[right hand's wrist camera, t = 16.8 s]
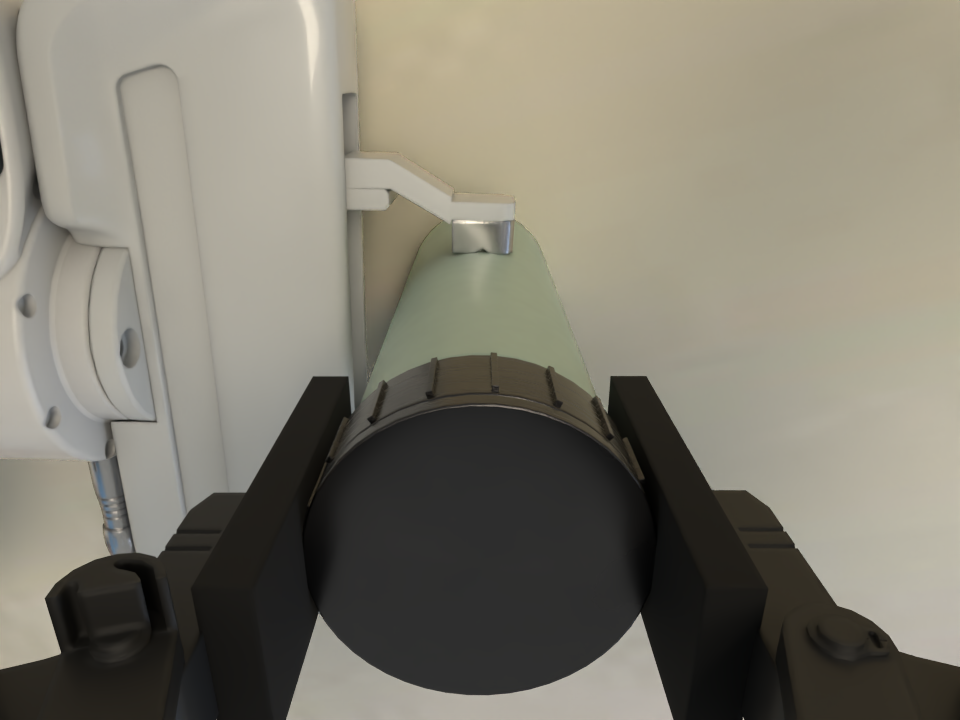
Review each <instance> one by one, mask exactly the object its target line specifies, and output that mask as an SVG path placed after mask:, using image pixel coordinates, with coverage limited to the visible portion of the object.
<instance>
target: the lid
mask: <svg viewBox="0 0 960 720" xmlns="http://www.w3.org/2000/svg"><path fill="white" fill-rule="evenodd" d="M325 461H326V462H327V463H326V462H325V464H324V466H323V469H322V471H321V473H320V476H319V478H318V481H317V483H316V486H315V488H314V490H313V493H312V495H311V498H310V500H309V503H308V505H307V509H308V511H307V514H306V519H305V523H304V528H303V534H302V543H303V553H304V561H305V570H306V578H307V585H308V589H309V592H310V594H311V596H312V599H313V601H314V603H315V606H316V608H317V609H318V611H319V612H320V614H321V616H322V617H323V619H324V621H325V622H326V624H327V625H328V626H329V627H330V629H331V630H332V631H333V632H334V633H335V635H336V636H337V637H338V638H339V639H340V640H341V641H342V642H343V643H344V644H345V645H346V646H347V647H348V648H349V649H350V650H351V651H353V652H354V653H355V654H357V655H358V656H359V657H361V658H362V659H363V660H365V661H366V662H367V663H369V664H370V665H372V666H374V667H376V668H377V669H379V670H381V671H383V672H384V673H386V674H388V675H391V676H393V677H395V678H397V679H400V680H402V681H404V682H407V683H410V684H413V685H417V686H420V687H423V688H426V689H431V690H436V691H441V692H445V693H454V694H463V695H495V694H506V693H513V692H518V691H524V690H529V689H533V688H536V687H539V686H543V685H546V684H550V683H552V682H555V681H557V680H559V679H562V678H564V677H567V676H569V675H571V674H573V673H575V672H577V671H578V670H580V669H582V668H584V667H586V666H587V665H589V664H590V663H592V662H593V661H595V660H596V659H597V658H599V657H600V656H602V655H603V654H604V653H605V652H607V651H608V650H609V649H610V648H611V647H612V646H613V645H614V644H616V643H617V642H618V641H619V640H620V638H621V637H622V636H623V635H624V634H625V633H626V632H627V630H628V629H629V628H630V627H631V626H632V624H633V623H634V621H635V620H636V618H637V617H638V615H639V614H640V612H641V610H642V608H643V606H644V604H645V602H646V600H647V598H648V596H649V594H650V590H651V586H652V579H653V571H654V563H655V554H656V545H657V530H656V525H655V519H654V515H653V513H652V510H651V507H650V504H649V501H648V499H647V496H646V494H645V491H644V489H643V487H642V485H644V484H646V483H647V482H646V480H645V478H644V475H643V473H642V471H641V468H640V466H639V464H638V461H637V459H636V456H635V454H634V452H633V449H632V447H631V445H630V442H629V440H628V438H627V437H626V438H622V436H621V434H620V432H619V431H618V429H617V427H616V425H615V423H614V422H613V420H612V419H611V418H610V416H609V415H608V414H607V412H606V411H605V410H604V408H603V405H602V403H601V400H600V398H598V397H597V396H595V397H594V398H593V397H592V396H591V395H590V394H588V393H587V392H586V391H585V390H583V389H582V388H581V387H579V386H578V385H577V384H575V383H574V382H572V381H571V380H569V379H567V378H565V377H564V376H562V375H560V374H558V373H556V372H555V370H554V367H551V366H548V367H547V368H545V367H542V366H540V365H537V364H534V363H530V362H527V361H523V360H519V359H515V358H508V357H501V356H497V353H493V352H491V354H490V355H468V356H459V357H450V358H445V359H441V360H438V358H437V357H435V358H431V362H428V363H426V364H423V365H420V366H418V367H415V368H412V369H410V370H407V371H406V372H404V373H402V374H400V375H398V376H396V377H394V378H392V379H390V380H389V381H387V382H385V381H384V380H382V381H381V382H379V384H378V387H377V389H376V390H375V391H373V392H372V393H371V394H370V395H369V396H368V397H367V398H366V399H365V400H364V401H363V402H362V403H361V404H360V405H359V406H358V407H357V408H356V410H355V411H354V412H353V413H352V414H351V416H350V417H349V418H346V417H344V418H343V419H342V421H341V423H340V426H339V428H338V431H337V433H336V435H335V438H334V440H333V443H332V445H331V447H330V450H329V452H328V455H327V457H326V460H325Z"/></svg>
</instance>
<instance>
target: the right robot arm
mask: <svg viewBox="0 0 960 720" xmlns="http://www.w3.org/2000/svg"><path fill="white" fill-rule="evenodd" d="M351 414H352V413H351V401H350V388H349V376H313V377H312V379H311V381H310V382H309V384H308V386H307V388H306V389H305V391H304V393H303V394H302V396H301V398H300V400H299V401H298V403H297V405H296V407H295V408H294V410H293V412H292V414H291V415H290V417H289V419H288V421H287V422H286V424H285V426H284V427H283V429H282V431H281V433H280V434H279V436H278V438H277V440H276V441H275V443H274V445H273V447H272V448H271V450H270V452H269V454H268V455H267V457H266V459H265V460H264V462H263V464H262V466H261V467H260V469H259V471H258V473H257V474H256V476H255V478H254V480H253V481H252V483H251V485H250V487H249V488H248V490H247V492H224V493H213V494H211V495H210V496H208V497H207V498H206V499H204V500H203V501H202V502H200V503H199V504H197V505H196V506H195V507H193V508H192V509H191V510H190V511H189V512H188V514H187V515H186V517H185V518H184V520H183V521H182V522H181V524H180V525H179V527H178V528H177V532H176V534H173V536H172V537H171V539H170V540H169V541H168V543H167V544H166V546H165V551H162V552H161V553H160V555H159V556H158V558H156V557H155V556H151V555H147V554H143V553H122V554H115V555H111V556H107V557H104V558H100V559H96V560H94V561H92V562H89V563H87V564H85V565H83V566H81V567H79V568H77V569H75V570H73V571H72V572H70V573H69V574H68V575H66V576H65V577H64V578H62V579H61V580H60V581H58V582H57V583H56V584H55V585H54V587H53V588H52V589H51V591H50V592H49V593H48V595H47V596H46V598H45V601H46V604H47V607H48V610H49V614H50V617H51V620H52V624H53V627H54V630H55V633H56V637H57V640H58V643H59V647H60V650H61V654H60V655H57V656H53V657H50V658H47V659H44V660H40V661H35V662H31V663H27V664H23V665H18V666H14V667H10V668H6V669H1V670H0V720H216V719H217V720H286V717H287V714H288V711H289V708H290V704H291V701H292V698H293V694H294V691H295V688H296V685H297V681H298V678H299V675H300V672H301V668H302V665H303V662H304V659H305V655H306V652H307V649H308V645H309V642H310V639H311V636H312V632H313V629H314V626H315V623H316V619H317V616H318V613H319V611H318V609H317V608H316V606H315V603H314V601H313V599H312V596H311V594H310V592H309V589H308V585H307V578H306V570H305V561H304V553H303V543H302V534H303V528H304V523H305V519H306V514H307V511H308V509H307V505H308V503H309V500H310V498H311V495H312V493H313V490H314V488H315V486H316V483H317V481H318V478H319V476H320V473H321V471H322V469H323V466H324V464H325V462H326V461H325V460H326V457H327V455H328V452H329V450H330V447H331V445H332V443H333V440H334V438H335V435H336V433H337V431H338V428H339V426H340V423H341V421H342V419H343V418H344V417H346V418H349V417H350V416H351ZM608 415H609V416H610V418H611V419H612V420H613V422H614V423H615V425H616V427H617V429H618V431H619V432H620V434H621V436H622V438H626V437H627V438H628V440H629V442H630V445H631V447H632V449H633V452H634V454H635V456H636V459H637V461H638V464H639V466H640V468H641V471H642V473H643V475H644V478H645V480H646V482H647V483H646V484H644V485H642V487H643V489H644V491H645V494H646V496H647V499H648V501H649V504H650V507H651V510H652V513H653V515H654V519H655V525H656V530H657V545H656V554H655V563H654V571H653V579H652V586H651V590H650V594H649V596H648V598H647V600H646V602H645V604H644V606H643V608H642V610H641V615H642V618H643V622H644V625H645V628H646V631H647V635H648V638H649V641H650V644H651V648H652V651H653V654H654V658H655V661H656V664H657V667H658V671H659V674H660V677H661V680H662V684H663V687H664V690H665V693H666V697H667V700H668V703H669V707H670V710H671V713H672V716H673V720H742V719H743V718H744V720H960V667H957V666H953V665H949V664H945V663H940V662H936V661H932V660H928V659H923V658H919V657H915V656H912V655H909V654H905V653H902V652H899V651H898V649H897V648H896V646H895V644H894V643H893V641H892V640H891V638H890V637H889V635H888V634H886V633H885V632H884V631H883V630H882V629H881V628H879V627H878V626H877V625H876V624H875V623H874V622H872V621H871V620H869V619H867V618H865V617H863V616H861V615H859V614H858V613H856V612H854V611H852V610H849V609H845V608H842V607H839V606H837V605H836V604H835V602H834V601H833V599H832V598H831V596H830V595H829V593H828V592H827V590H826V589H825V588H824V586H823V585H822V583H821V582H820V580H819V579H818V577H817V576H816V575H815V573H814V572H813V570H812V569H811V567H810V566H809V564H808V563H807V561H806V560H805V559H804V557H803V556H802V554H801V553H800V551H799V550H798V548H795V544H794V543H793V541H792V540H791V538H790V537H789V535H788V534H787V532H784V531H783V527H782V525H781V524H780V522H779V521H778V519H777V518H776V516H775V515H774V514H773V512H772V511H771V509H770V508H769V507H768V506H766V505H765V504H764V503H762V502H761V501H760V500H758V499H757V498H755V497H754V496H753V495H751V494H750V493H749V492H747V491H746V490H711V488H710V486H709V484H708V483H707V481H706V479H705V477H704V476H703V474H702V472H701V470H700V469H699V467H698V465H697V464H696V462H695V460H694V458H693V457H692V455H691V453H690V451H689V450H688V448H687V446H686V444H685V443H684V441H683V439H682V437H681V436H680V434H679V432H678V431H677V429H676V427H675V425H674V424H673V422H672V420H671V418H670V417H669V415H668V413H667V411H666V410H665V408H664V406H663V404H662V403H661V401H660V399H659V398H658V396H657V394H656V392H655V391H654V389H653V387H652V385H651V384H650V382H649V380H648V378H647V377H646V376H611V379H610V392H609V404H608ZM326 463H327V462H326Z"/></svg>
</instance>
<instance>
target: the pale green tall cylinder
mask: <svg viewBox="0 0 960 720" xmlns="http://www.w3.org/2000/svg"><path fill="white" fill-rule="evenodd" d="M491 352H493V353H497V356H501V357H508V358H515V359H519V360H523V361H527V362H530V363H534V364H537V365H540V366H542V367H545V368H547V367H548V366H551V367H554V370H555V372H556V373H558V374H560V375H562V376H564V377H565V378H567V379H569V380H571V381H572V382H574V383H575V384H577V385H578V386H579V387H581V388H582V389H583V390H585V391H586V392H587V393H588V394H590V395H591V396H592V397H593V398H594V397H595V396H596V393H595V391H594V388H593V386H592V383H591V380H590V378H589V375H588V372H587V370H586V367H585V364H584V362H583V359H582V356H581V354H580V351H579V349H578V346H577V343H576V341H575V338H574V335H573V333H572V330H571V327H570V325H569V322H568V319H567V317H566V314H565V311H564V309H563V306H562V304H561V301H560V298H559V296H558V293H557V290H556V288H555V285H554V282H553V280H552V277H551V274H550V272H549V269H548V267H547V264H546V261H545V259H544V256H543V253H542V251H541V249H540V247H539V245H538V243H537V241H536V240H535V238H534V237H533V236H532V235H531V233H530V232H529V231H528V230H527V229H526V228H525V227H524V226H522V225H521V224H520V223H518V222H517V221H515V224H514V237H513V251H512V253H510V254H504V255H497V254H490V253H488V252H487V251H485V250H484V249H482V250H480V251H479V252H477V253H469V254H462V253H452V221H451V225H450V224H448V223H446V222H445V221H443V222H441V223H440V224H438V225H437V226H436V227H435V228H434V229H433V230H432V231H431V232H430V233H429V234H428V235H427V237H426V238H425V239H424V241H423V242H422V244H421V246H420V248H419V250H418V252H417V255H416V258H415V260H414V263H413V266H412V268H411V271H410V274H409V276H408V279H407V282H406V284H405V287H404V289H403V292H402V295H401V297H400V300H399V303H398V305H397V308H396V311H395V313H394V316H393V319H392V321H391V324H390V326H389V329H388V332H387V334H386V337H385V340H384V342H383V345H382V348H381V350H380V353H379V356H378V358H377V361H376V363H375V366H374V369H373V371H372V374H371V377H370V379H369V382H368V385H367V387H366V390H365V393H364V395H363V398H362V400H361V403H362V402H363V401H364V400H365V399H366V398H367V397H368V396H369V395H370V394H371V393H372V392H373V391H375V390H376V389H377V387H378V384H379V382H381V381H382V380H384V381H385V382H387V381H389V380H390V379H392V378H394V377H396V376H398V375H400V374H402V373H404V372H406V371H407V370H410V369H412V368H415V367H418V366H420V365H423V364H426V363H428V362H431V358H435V357H437V358H438V360H441V359H445V358H450V357H459V356H468V355H490V354H491ZM361 403H360V404H361Z"/></svg>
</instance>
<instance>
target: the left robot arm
mask: <svg viewBox="0 0 960 720" xmlns="http://www.w3.org/2000/svg"><path fill="white" fill-rule="evenodd" d="M397 194H399V195H401V196H402V197H404V198H406V199H408V200H409V201H411V202H413V203H414V204H416V205H418V206H419V207H421V208H423V209H424V210H426V211H428V212H430V213H431V214H433V215H435V216H436V217H438V218H440V219H441V220H443V221H445V222H446V223H448V224H450V225H451V221H452V253H462V254H469V253H477V252H479V251H480V250H482V249H484V250H485V251H487V252H488V253H490V254H497V255H504V254H510V253H512V251H513V237H514V224H515V205H516V202H515V198H514V197H513V196H510V195H504V194H483V193H455V192H454V188H453V187H451V186H450V185H448V184H447V183H445V182H443V181H442V180H440V179H439V178H437V177H436V176H434V175H432V174H431V173H429V172H428V171H426V170H425V169H423V168H421V167H420V166H418V165H417V164H415V163H414V162H412V161H410V160H409V159H407V158H406V157H404V156H403V155H401V154H399V153H398V152H372V151H360V129H359V98H358V67H357V36H356V7H355V0H0V459H28V460H60V461H88V465H89V470H90V474H91V479H92V484H93V487H94V490H95V494H96V496H97V499H98V501H99V504H100V507H101V510H102V514H103V519H104V524H103V535H104V540H105V543H106V546H107V548H108V551H109V553H110V554H111V555H115V554H122V553H143V554H147V555H151V556H155V557H156V558H158V556H159V555H160V553H161V552H162V551H165V546H166V544H167V543H168V541H169V540H170V539H171V537H172V536H173V534H176V532H177V528H178V527H179V525H180V524H181V522H182V521H183V520H184V518H185V517H186V515H187V514H188V512H189V511H190V510H191V509H192V508H193V507H195V506H196V505H197V504H199V503H200V502H202V501H203V500H204V499H206V498H207V497H208V496H210V495H211V494H213V493H224V492H247V490H248V488H249V487H250V485H251V483H252V481H253V480H254V478H255V476H256V474H257V473H258V471H259V469H260V467H261V466H262V464H263V462H264V460H265V459H266V457H267V455H268V454H269V452H270V450H271V448H272V447H273V445H274V443H275V441H276V440H277V438H278V436H279V434H280V433H281V431H282V429H283V427H284V426H285V424H286V422H287V421H288V419H289V417H290V415H291V414H292V412H293V410H294V408H295V407H296V405H297V403H298V401H299V400H300V398H301V396H302V394H303V393H304V391H305V389H306V388H307V386H308V384H309V382H310V381H311V379H312V377H313V376H349V388H350V401H351V413H353V412H354V411H355V410H356V408H357V407H358V406H359V405H360V403H361V400H362V398H363V395H364V393H365V390H366V387H367V385H368V376H367V345H366V314H365V283H364V252H363V221H362V210H372V211H385V210H386V209H387V208H388V207H389V206H390V205H391V203H392V202H393V201H394V200H395V198H396V197H397ZM318 614H320V612H319V613H318Z"/></svg>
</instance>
